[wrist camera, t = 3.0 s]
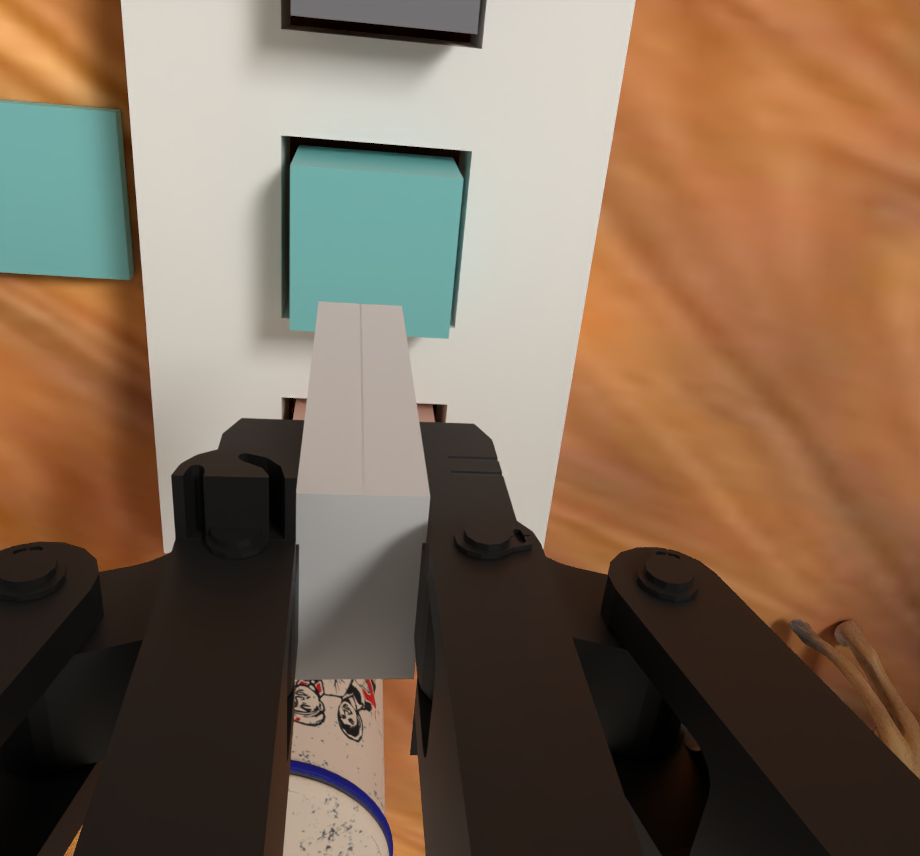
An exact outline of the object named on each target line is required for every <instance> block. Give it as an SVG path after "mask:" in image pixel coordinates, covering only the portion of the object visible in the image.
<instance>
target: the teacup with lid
mask: <svg viewBox="0 0 920 856" xmlns="http://www.w3.org/2000/svg"><path fill="white" fill-rule="evenodd" d="M283 856H393V841H392V834H391V831H390V827H389V825H388V822H387V820H386V818H385V781H384V731H383V681H382V679H333V680H295V712H294V725H293V737H292V749H291V762H290V774H289V786H288V799H287V811H286V824H285V836H284V848H283Z"/></svg>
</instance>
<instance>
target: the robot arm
mask: <svg viewBox="0 0 920 856" xmlns="http://www.w3.org/2000/svg"><path fill="white" fill-rule="evenodd" d="M171 482H172V496H173V510H174V525H175V542H174V545H173V548H172V551H171V552H170V553H168V554H167V555H164V556H162V557H160V558H157V559H155V560H152V561H150V562H146V563H142V564H138V565H134V566H130V567H125V568H119V569H114V570H108V571H103V572H99V570H98V565H97V560H96V559H95V558H94V557H93V556H92V555H91V554H90V553H89V552H87V551H86V550H85V549H83V548H80V547H77V546H74V545H70V544H67V543H59V542H35V543H29V544H22V545H17V546H12V547H10V548H7V549H4V550H2V551H0V856H64V854H65V852H66V851H67V849H68V848H69V846H70V844H71V843H72V841H73V839H74V838H75V836H76V834H77V833H78V831H79V830H80V828H81V826H82V825H83V827H82V830H81V833H80V836H79V839H78V842H77V845H76V848H75V851H74V854H73V856H283V848H284V836H285V824H286V811H287V799H288V786H289V774H290V762H291V749H292V737H293V725H294V712H295V680H333V679H414V670H415V659H416V666H417V688H416V698H415V709H414V720H413V730H412V741H411V751H410V755H418V762H419V775H420V787H421V800H422V813H423V826H424V838H425V851H426V856H920V779H919V778H918V777H917V776H916V775H915V774H914V773H913V772H912V771H911V770H910V769H909V768H908V767H907V766H906V765H905V764H904V763H903V762H902V761H901V760H900V759H899V758H898V757H897V756H896V755H895V754H894V753H893V752H892V751H891V750H890V749H889V748H888V747H887V746H886V745H885V744H884V743H883V742H882V741H881V740H880V739H879V738H878V737H877V736H876V735H875V734H874V733H873V732H872V731H871V730H870V729H869V728H868V727H867V726H866V725H865V724H864V723H863V721H862V720H861V719H860V718H859V717H858V716H857V715H856V714H855V713H854V712H853V711H852V710H851V709H850V708H849V707H848V706H847V705H846V704H845V703H844V702H843V701H842V700H841V699H840V698H839V697H838V696H837V695H836V694H835V693H834V692H833V691H832V690H831V689H830V688H829V687H828V686H827V685H826V684H825V683H824V682H823V681H822V680H821V679H820V678H819V677H818V676H817V675H816V674H815V673H814V672H813V671H812V670H811V669H810V668H809V667H808V666H807V665H806V664H805V663H804V662H803V661H802V660H801V659H800V658H799V657H798V656H797V655H796V654H795V653H794V652H793V651H792V650H791V649H790V648H789V647H788V646H787V645H786V644H785V643H784V642H783V641H782V640H781V639H780V638H779V637H778V636H777V635H776V634H775V633H774V632H773V631H772V630H771V629H770V628H769V627H768V626H767V625H766V624H765V623H764V622H763V621H762V620H761V619H760V618H759V617H758V616H757V615H756V614H755V613H754V612H753V611H752V610H751V609H750V608H749V607H748V606H747V605H746V604H745V602H744V601H743V600H742V599H741V598H740V597H739V596H738V595H737V594H736V593H735V592H734V591H733V590H732V589H731V588H730V587H729V586H728V585H727V584H726V583H725V582H724V581H723V580H722V579H721V578H720V577H719V576H718V575H717V574H716V573H715V572H713V571H712V570H711V569H709V568H708V567H707V566H705V565H704V564H703V563H701V562H700V561H698V560H696V559H694V558H691V557H689V556H687V555H685V554H682V553H680V552H677V551H674V550H670V549H669V550H667V549H664V548H658V547H644V548H634V549H631V550H627V551H624V552H621V553H620V554H618V555H617V556H616V557H615V558H614V559H613V560H612V561H611V562H610V567H609V571H608V575H606V574H601V573H597V572H592V571H588V570H583V569H578V568H575V567H571V566H568V565H564V564H561V563H558V562H556V561H554V560H552V559H550V558H547V557H545V554H544V551H543V548H542V545H541V543H540V541H539V540H538V538H537V537H536V535H535V534H534V532H533V531H531V530H530V529H528V528H527V527H526V526H524V525H523V524H521V523H520V522H518V521H517V519H516V516H515V513H514V510H513V506H512V503H511V500H510V496H509V493H508V490H507V487H506V483H505V480H504V477H503V476H502V470H501V467H500V464H499V461H498V457H497V454H496V451H495V447H494V444H493V441H492V439H491V438H490V437H489V436H487V435H486V434H485V433H484V432H483V431H482V430H481V429H480V428H479V427H477V426H476V425H475V424H470V423H442V422H419V417H418V410H417V403H416V397H415V390H414V383H413V377H412V370H411V363H410V356H409V350H408V343H407V336H406V329H405V323H404V316H403V309H402V306H394V305H376V304H357V303H339V302H320V301H319V302H318V311H317V319H316V328H315V336H314V345H313V353H312V361H311V370H310V378H309V387H308V395H307V403H306V412H305V420H285V419H256V418H241V419H240V420H238V421H237V422H236V423H235V424H234V425H232V426H231V427H230V428H229V429H227V430H226V431H225V432H224V433H223V434H222V437H221V440H220V443H219V447H218V449H217V450H213V451H209V452H205V453H201V454H197V455H195V456H193V457H192V458H190V459H188V460H186V461H184V462H182V463H181V464H180V465H179V466H178V467H177V468H176V470H175V471H174V472H173V473H172V475H171Z"/></svg>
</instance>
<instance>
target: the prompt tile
mask: <svg viewBox="0 0 920 856" xmlns="http://www.w3.org/2000/svg"><path fill="white" fill-rule="evenodd" d="M0 272H2V273H19V274H35V275H52V276H69V277H85V278H102V279H119V280H130V279H131V278H132V277H133V275H134V265H133V253H132V241H131V229H130V216H129V204H128V192H127V180H126V168H125V156H124V143H123V131H122V119H121V109H110V108H98V107H86V106H74V105H62V104H51V103H39V102H27V101H15V100H3V99H0Z"/></svg>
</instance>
